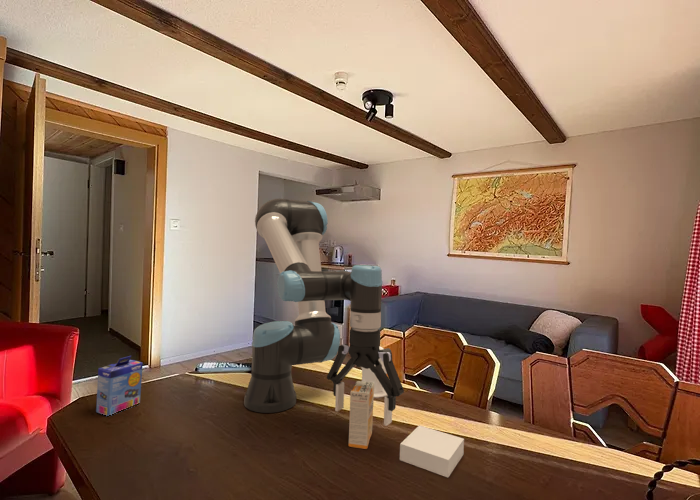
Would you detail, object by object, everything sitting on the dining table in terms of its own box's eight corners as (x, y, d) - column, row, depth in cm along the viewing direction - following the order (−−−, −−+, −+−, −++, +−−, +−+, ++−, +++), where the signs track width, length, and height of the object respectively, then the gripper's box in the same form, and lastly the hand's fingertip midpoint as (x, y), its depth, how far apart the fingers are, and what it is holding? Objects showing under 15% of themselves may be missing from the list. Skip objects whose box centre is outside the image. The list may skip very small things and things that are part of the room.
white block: (399, 461, 84) (400, 443, 84) (418, 441, 93) (419, 425, 93) (448, 479, 78) (448, 460, 78) (463, 456, 87) (464, 438, 87)
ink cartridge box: (108, 417, 99) (110, 362, 99) (94, 413, 101) (96, 359, 101) (142, 403, 108) (144, 353, 108) (128, 400, 110) (130, 350, 110)
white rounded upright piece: (398, 393, 123) (399, 347, 123) (373, 401, 116) (374, 352, 116) (372, 382, 132) (374, 339, 132) (348, 389, 125) (349, 344, 125)
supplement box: (368, 450, 87) (370, 393, 87) (347, 447, 88) (349, 391, 88) (373, 433, 95) (374, 381, 95) (354, 430, 96) (356, 379, 96)
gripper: (315, 324, 95) (312, 408, 95) (406, 338, 82) (403, 436, 82) (331, 320, 102) (329, 399, 101) (419, 332, 88) (416, 423, 88)
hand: (362, 416), depth 92 cm, fingers open, 13 cm apart
